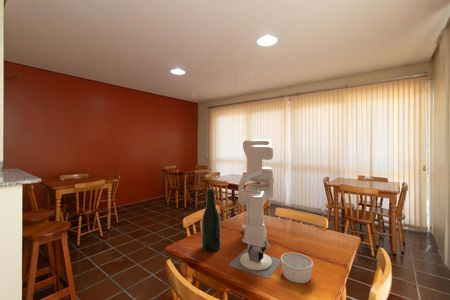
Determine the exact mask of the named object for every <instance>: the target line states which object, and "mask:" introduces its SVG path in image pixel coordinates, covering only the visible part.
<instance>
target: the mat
mask: <svg viewBox="0 0 450 300" xmlns="http://www.w3.org/2000/svg"><path fill="white" fill-rule="evenodd" d="M245 253H248V249H247V248H246V249H244V250H243V251H242V252H241V253H240V254H238V256H236V257H235V258H234V259H233V260H232V261H231V262H230V263H228V266H229V267H233V268H235V269H238V270H241V271H244V272H247V273H249V274H250V273H251V274H252V275H255V276H259V277H261V278H265V279H267V280H269V279H271V276H272V275H273V274H274V272H275V271H276V270H277V269H278V267H279V265H281V258H278V257H274V256H270V255H268V256H269V257H270V258H271V260H272V265H271V266H270V267H269V268H268V269H265V270H260V271H256V270H250V269H247V268H245V267H244V266H242V265H241V263H240V257H241V256H242V255H243V254H245Z"/></svg>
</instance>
